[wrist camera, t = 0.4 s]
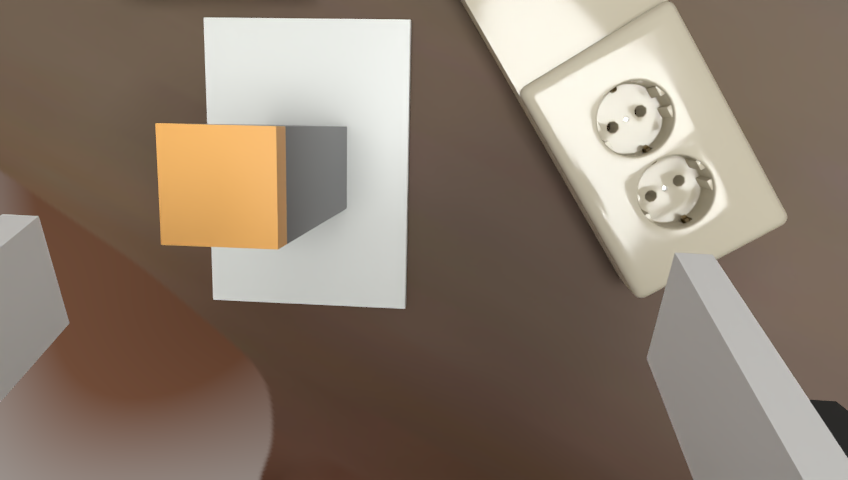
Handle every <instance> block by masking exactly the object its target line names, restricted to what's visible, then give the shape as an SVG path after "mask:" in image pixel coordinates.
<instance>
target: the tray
mask: <svg viewBox="0 0 848 480" xmlns="http://www.w3.org/2000/svg"><path fill="white" fill-rule="evenodd" d="M411 28H412V21H411V20H397V19H299V18H204V42H205V72H206V102H207V124H256V125H302V126H344V127H347V209H345V210H343V211H342V212H340V213H338V214H337V215H335V216H333V217H332V218H330V219H328V220H327V221H325V222H323V223H322V224H320V225H318V226H317V227H315V228H313V229H312V230H310V231H308V232H307V233H305V234H303V235H302V236H300V237H298V238H296V239H295V240H293V241H291V242H290V243H288V244H286V245H285V246H283V247H281V248H280V249H253V248H228V247H211V249H212V279H213V300H230V301H251V302H272V303H293V304H314V305H335V306H356V307H377V308H398V309H405V308H406V286H407V235H408V183H409V131H410V80H411Z"/></svg>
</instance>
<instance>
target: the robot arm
mask: <svg viewBox="0 0 848 480" xmlns="http://www.w3.org/2000/svg"><path fill="white" fill-rule="evenodd" d="M68 324H69V320H68V317H67V313H66V310H65V306H64V303H63V299H62V296H61V292H60V289H59V286H58V282H57V278H56V275H55V271H54V268H53V264H52V261H51V257H50V254H49V250H48V247H47V243H46V240H45V237H44V233H43V230H42V226H41V223H40V219H39V217H38V216H26V215H9V214H2V215H1V216H0V402H1V401H2V400H3V398H4V397H5V396H6V395H7V394H8V393H9V392H10V390H11V389H12V388H13V387H14V386H15V385H16V384H17V382H18V381H19V380H20V379H21V378H22V377H23V376H24V374H25V373H26V372H27V371H28V370H29V369H30V368H31V366H32V365H33V364H34V363H35V362H36V361H37V360H38V358H39V357H40V356H41V355H42V354H43V353H44V352H45V350H46V349H47V348H48V347H49V346H50V345H51V344H52V343H53V341H54V340H55V339H56V338H57V337H58V336H59V334H60V333H61V332H62V331H63V330H64V329H65V328H66V326H67V325H68ZM647 360H648V363H649V366H650V368H651V371H652V373H653V376H654V379H655V381H656V384H657V386H658V389H659V392H660V394H661V397H662V399H663V402H664V405H665V407H666V410H667V413H668V415H669V418H670V420H671V423H672V426H673V428H674V431H675V433H676V436H677V439H678V441H679V444H680V446H681V449H682V452H683V454H684V457H685V459H686V462H687V465H688V467H689V470H690V472H691V475H692V478H693V480H848V411H847V410H846V409H845V408H844V407H842V406H841V405H840V404H839V403H837V402H835V401H819V400H809V399H808V397H807V396H806V394H805V393H804V391H803V390H802V388H801V387H800V385H799V384H798V382H797V381H796V379H795V378H794V376H793V375H792V373H791V372H790V370H789V369H788V367H787V366H786V364H785V363H784V361H783V360H782V358H781V357H780V355H779V354H778V352H777V351H776V349H775V348H774V346H773V345H772V343H771V342H770V340H769V339H768V337H767V336H766V334H765V333H764V331H763V329H762V328H761V326H760V325H759V323H758V322H757V320H756V319H755V317H754V316H753V314H752V313H751V311H750V310H749V308H748V307H747V305H746V304H745V302H744V301H743V299H742V298H741V296H740V295H739V293H738V292H737V290H736V289H735V287H734V286H733V284H732V283H731V281H730V280H729V278H728V277H727V275H726V274H725V272H724V271H723V269H722V268H721V266H720V265H719V263H718V262H717V260H716V259H715V257H714V256H713V255H711V254H693V253H676V252H675V253H674V257H673V261H672V265H671V269H670V272H669V276H668V280H667V284H666V287H665V291H664V295H663V299H662V303H661V306H660V310H659V314H658V318H657V322H656V325H655V329H654V333H653V337H652V340H651V344H650V348H649V352H648V356H647Z"/></svg>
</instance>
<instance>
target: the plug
mask: <svg viewBox="0 0 848 480" xmlns="http://www.w3.org/2000/svg"><path fill="white" fill-rule="evenodd" d="M155 125H156V146H157V167H158V188H159V209H160V230H161V245H179V246H204V247H228V248H253V249H280V248H281V247H283V246H285V245H286V244H288V243H290V242H291V241H293V240H295V239H296V238H298V237H300V236H302V235H303V234H305V233H307V232H308V231H310V230H312V229H313V228H315V227H317V226H318V225H320V224H322V223H323V222H325V221H327V220H328V219H330V218H332V217H333V216H335V215H337V214H338V213H340V212H342V211H343V210H345V209H347V127H344V126H302V125H256V124H174V123H155Z"/></svg>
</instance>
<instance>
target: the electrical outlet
mask: <svg viewBox="0 0 848 480" xmlns="http://www.w3.org/2000/svg"><path fill="white" fill-rule="evenodd" d="M460 1H461V2H462V4H463V6H464V8H465V9H466V11H467V13H468V15H469V16H470V18H471V20H472V21H473V23H474V25H475V27H476V28H477V30H478V32H479V34H480V35H481V37H482V39H483V41H484V42H485V44H486V46H487V48H488V49H489V51H490V53H491V55H492V56H493V58H494V60H495V62H496V63H497V65H498V67H499V69H500V70H501V72H502V74H503V76H504V77H505V79H506V81H507V83H508V84H509V86H510V88H511V90H512V91H513V92H514V95H515V97H516V98H517V100H518V102H519V104H520V105H521V107H522V109H523V111H524V112H525V114H526V116H527V118H528V119H529V121H530V123H531V125H532V126H533V128H534V130H535V132H536V133H537V135H538V137H539V139H540V140H541V142H542V144H543V146H544V147H545V149H546V151H547V152H548V154H549V156H550V158H551V159H552V161H553V163H554V165H555V166H556V168H557V170H558V172H559V173H560V175H561V177H562V179H563V180H564V182H565V184H566V186H567V187H568V189H569V191H570V193H571V194H572V196H573V198H574V200H575V201H576V203H577V205H578V207H579V208H580V210H581V212H582V214H583V215H584V217H585V219H586V221H587V222H588V224H589V226H590V228H591V229H592V231H593V233H594V235H595V236H596V238H597V240H598V242H599V243H600V245H601V247H602V249H603V250H604V252H605V254H606V256H607V257H608V259H609V261H610V263H611V264H612V266H613V268H614V270H615V271H616V273H617V275H618V277H619V278H620V279H621V280H622V282H623V283H624V284H625V285H626V286H627V287H628V288H629V290H630V291H631V292H632V293H633V294H634V295H635V296H636V297H638V298H644V297H647V296H649V295H651V294H653V293H654V292H656V291H658V290H660V289H662V288H664V287H666V284H667V280H668V276H669V272H670V269H671V265H672V261H673V257H674V253H675V252H676V253H693V254H711V255H713V256H714V257H715V259H716V260H717V259H719V258H721V257H723V256H725V255H726V254H728V253H730V252H732V251H734V250H736V249H738V248H740V247H742V246H744V245H745V244H747V243H749V242H751V241H753V240H755V239H757V238H759V237H761V236H762V235H764V234H766V233H768V232H770V231H772V230H774V229H776V228H778V227H780V226H781V225H783V224H784V223H785V222H786V220H787V214H786V212H785V210H784V208H783V206H782V204H781V203H780V201H779V199H778V197H777V195H776V193H775V191H774V189H773V188H772V186H771V184H770V182H769V180H768V178H767V176H766V175H765V173H764V171H763V169H762V167H761V165H760V163H759V162H758V160H757V158H756V156H755V154H754V152H753V150H752V148H751V147H750V145H749V143H748V141H747V139H746V137H745V135H744V134H743V132H742V130H741V128H740V126H739V124H738V122H737V120H736V119H735V117H734V115H733V113H732V111H731V109H730V107H729V106H728V104H727V102H726V100H725V98H724V96H723V94H722V93H721V91H720V89H719V87H718V85H717V83H716V81H715V79H714V78H713V76H712V74H711V72H710V70H709V68H708V66H707V65H706V63H705V61H704V59H703V57H702V55H701V53H700V51H699V50H698V48H697V46H696V44H695V42H694V40H693V38H692V37H691V35H690V33H689V31H688V29H687V27H686V25H685V24H684V22H683V20H682V18H681V16H680V14H679V12H678V10H677V9H676V7H675V5H674V4H673V3H672V2H670V1H667V0H460ZM635 109H636V115H635ZM608 124H610V130H609V131H607V125H608Z"/></svg>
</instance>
